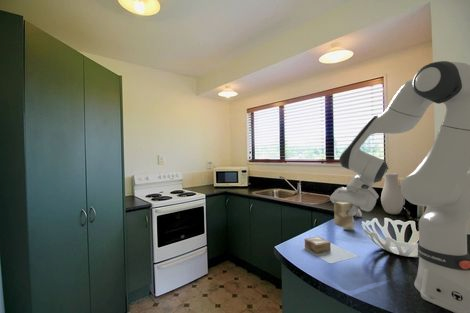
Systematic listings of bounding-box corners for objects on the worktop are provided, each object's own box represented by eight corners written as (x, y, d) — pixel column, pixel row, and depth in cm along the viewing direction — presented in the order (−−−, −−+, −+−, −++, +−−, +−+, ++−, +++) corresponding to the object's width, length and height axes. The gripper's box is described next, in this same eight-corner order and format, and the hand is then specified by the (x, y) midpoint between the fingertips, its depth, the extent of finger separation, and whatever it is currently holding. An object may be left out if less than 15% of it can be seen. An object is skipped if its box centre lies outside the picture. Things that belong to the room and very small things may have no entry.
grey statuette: (356, 231, 125) (355, 197, 125) (344, 231, 126) (343, 197, 127) (352, 228, 131) (351, 195, 132) (341, 227, 133) (339, 195, 133)
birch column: (352, 226, 94) (351, 203, 94) (343, 227, 92) (342, 204, 92) (343, 222, 98) (342, 201, 99) (334, 224, 97) (333, 202, 97)
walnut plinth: (330, 250, 99) (330, 241, 99) (316, 254, 96) (316, 244, 96) (318, 244, 106) (318, 236, 106) (304, 247, 104) (304, 238, 104)
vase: (376, 212, 166) (375, 173, 166) (390, 210, 170) (389, 172, 170) (394, 216, 153) (392, 174, 153) (408, 214, 157) (407, 173, 157)
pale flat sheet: (359, 258, 93) (359, 256, 93) (330, 266, 87) (330, 263, 87) (328, 243, 110) (327, 241, 110) (301, 248, 104) (301, 246, 104)
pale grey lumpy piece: (338, 215, 160) (338, 199, 160) (349, 213, 165) (348, 198, 165) (353, 219, 149) (353, 202, 149) (364, 217, 154) (363, 201, 154)
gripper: (335, 182, 108) (320, 204, 104) (374, 187, 88) (358, 213, 85) (343, 190, 109) (328, 212, 106) (383, 197, 90) (366, 223, 86)
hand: (341, 213), depth 95 cm, fingers closed on birch column, 5 cm apart
